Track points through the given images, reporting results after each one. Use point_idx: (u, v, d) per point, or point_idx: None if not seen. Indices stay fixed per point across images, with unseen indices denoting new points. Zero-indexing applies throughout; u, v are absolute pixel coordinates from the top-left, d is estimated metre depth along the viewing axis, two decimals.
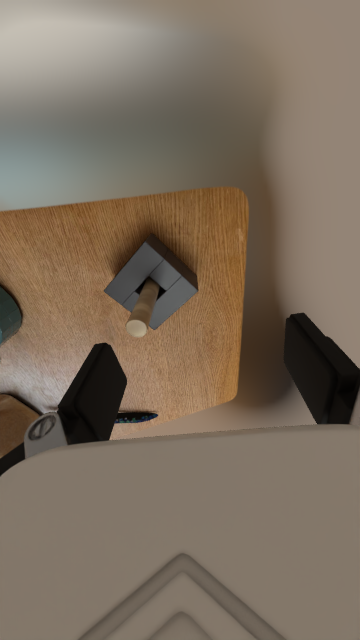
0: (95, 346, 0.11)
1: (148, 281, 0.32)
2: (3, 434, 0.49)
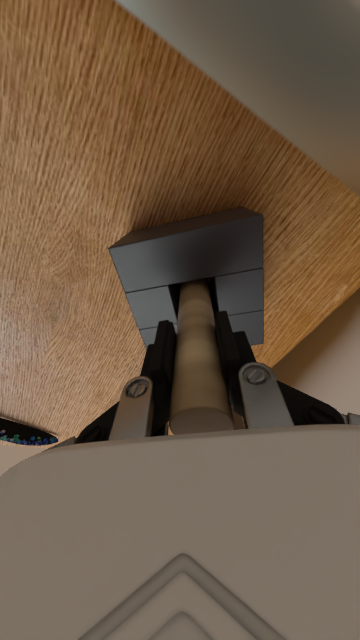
0: (160, 322, 0.11)
1: (199, 283, 0.16)
2: None
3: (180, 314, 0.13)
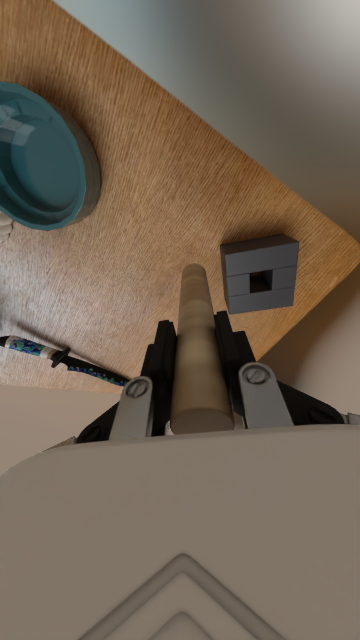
0: (160, 322, 0.11)
1: (199, 283, 0.16)
2: None
3: (180, 315, 0.13)
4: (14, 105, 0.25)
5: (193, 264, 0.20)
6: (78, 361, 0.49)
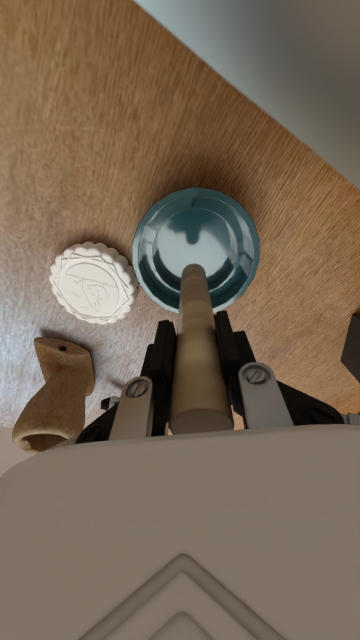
0: (160, 322, 0.11)
1: (199, 283, 0.16)
2: (77, 404, 0.34)
3: (180, 315, 0.13)
4: (188, 200, 0.23)
5: (193, 264, 0.20)
6: None
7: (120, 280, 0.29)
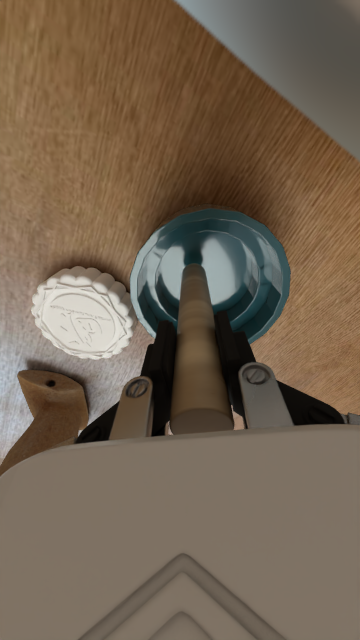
0: (160, 322, 0.11)
1: (199, 283, 0.16)
2: None
3: (180, 315, 0.13)
4: (200, 222, 0.19)
5: (193, 264, 0.20)
6: None
7: (116, 313, 0.24)
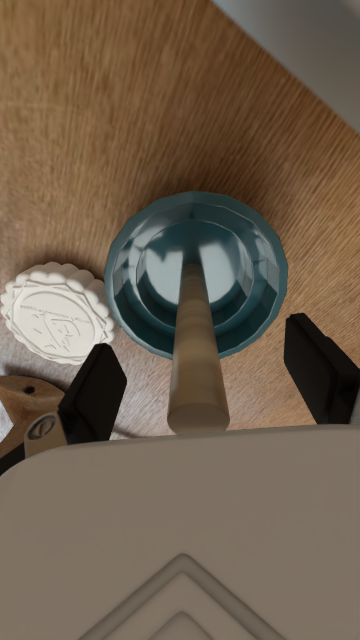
0: (95, 346, 0.11)
1: (198, 283, 0.17)
2: None
3: (179, 314, 0.14)
4: (184, 209, 0.16)
5: (192, 264, 0.21)
6: None
7: (94, 314, 0.21)
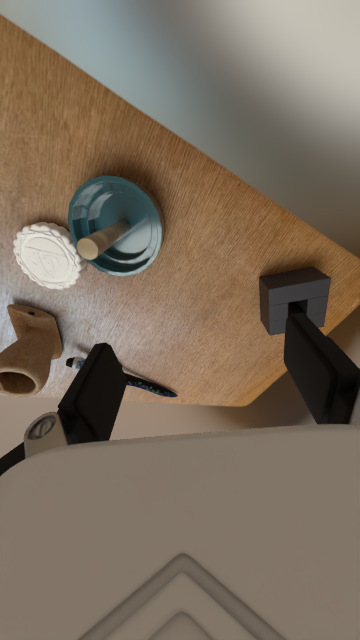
0: (95, 346, 0.11)
1: (116, 224, 0.33)
2: (41, 355, 0.43)
3: None
4: (107, 186, 0.32)
5: (121, 220, 0.37)
6: (129, 376, 0.56)
7: (67, 250, 0.37)
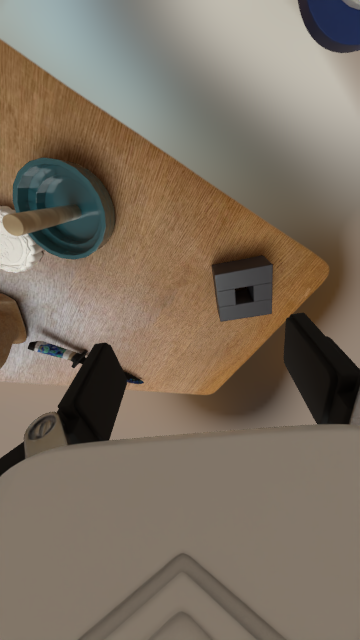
0: (95, 346, 0.11)
1: (60, 207, 0.34)
2: None
3: None
4: (51, 169, 0.33)
5: None
6: None
7: None
